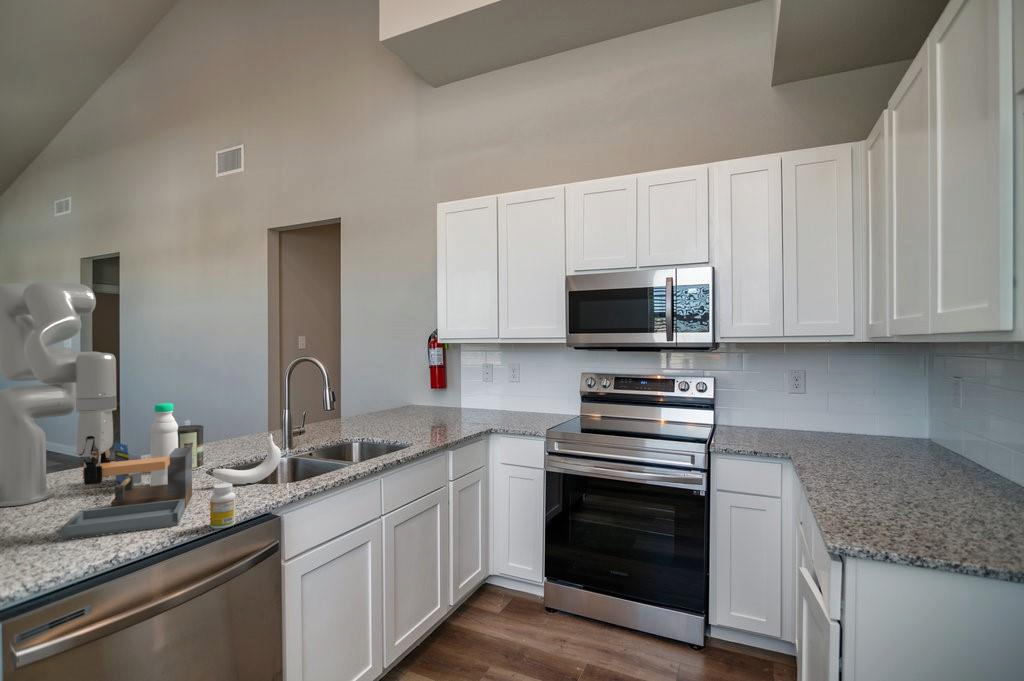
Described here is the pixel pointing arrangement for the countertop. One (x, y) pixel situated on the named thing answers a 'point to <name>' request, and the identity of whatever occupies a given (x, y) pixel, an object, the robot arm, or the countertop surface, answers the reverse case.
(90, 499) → the countertop surface
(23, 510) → the countertop surface
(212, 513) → the supplement bottle
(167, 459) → the orange rectangular block
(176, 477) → the dispenser
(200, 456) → the coffee can
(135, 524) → the tray
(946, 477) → the countertop surface
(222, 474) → the banana
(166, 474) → the water bottle
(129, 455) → the label tape cartridge
